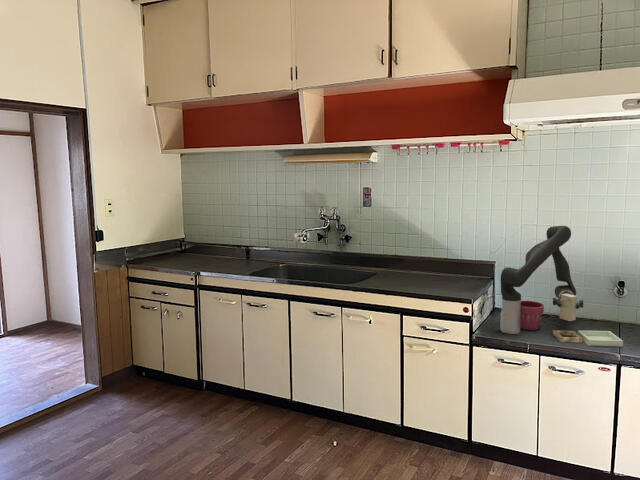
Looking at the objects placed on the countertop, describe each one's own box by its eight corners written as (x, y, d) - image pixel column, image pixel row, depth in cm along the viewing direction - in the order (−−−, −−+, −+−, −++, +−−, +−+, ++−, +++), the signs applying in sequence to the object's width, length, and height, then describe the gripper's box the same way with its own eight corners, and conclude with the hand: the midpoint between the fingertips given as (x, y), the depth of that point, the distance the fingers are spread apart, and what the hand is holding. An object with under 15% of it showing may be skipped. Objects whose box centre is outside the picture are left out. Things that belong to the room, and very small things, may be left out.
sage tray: (588, 346, 244) (589, 340, 244) (577, 336, 259) (577, 330, 259) (622, 347, 242) (623, 340, 242) (609, 336, 257) (609, 331, 257)
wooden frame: (560, 341, 251) (560, 337, 251) (552, 334, 263) (552, 330, 263) (582, 342, 250) (582, 338, 250) (573, 334, 262) (573, 330, 262)
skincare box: (559, 318, 257) (560, 294, 256) (565, 317, 259) (566, 293, 257) (570, 321, 251) (571, 296, 250) (576, 320, 253) (577, 295, 252)
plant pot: (539, 333, 265) (540, 308, 264) (511, 328, 273) (512, 305, 271) (545, 325, 277) (546, 302, 275) (518, 322, 285) (518, 299, 283)
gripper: (552, 290, 270) (553, 297, 254) (582, 292, 264) (585, 300, 249) (551, 304, 271) (552, 312, 255) (582, 306, 265) (584, 315, 250)
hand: (568, 306), depth 252 cm, fingers closed on skincare box, 7 cm apart
